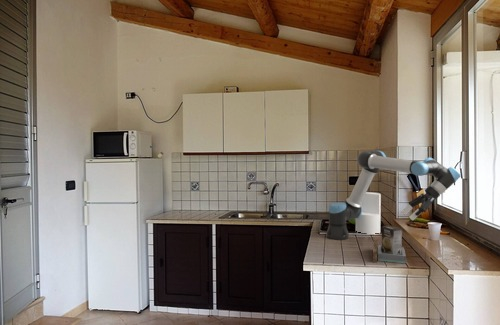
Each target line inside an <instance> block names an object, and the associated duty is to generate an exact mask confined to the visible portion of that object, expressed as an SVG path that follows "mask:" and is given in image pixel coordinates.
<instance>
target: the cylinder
mask: <svg viewBox="0 0 500 325" xmlns="http://www.w3.org/2000/svg"><path fill="white" fill-rule="evenodd" d="M381 198H382V196H381V193H379V192H370V191H366V194H365V196H364V198H363V200H362V202H361V204H362V214H361V215H360V216H359V217H358V218H356V224H355V232H356V231H357V232H356V233H358V232H361V233H367V234H366V235H369V234H374V235H376V234H375V233H379V234H381V220H382V219H381V218H382V216H381V213H382V212H381V204H382V203H381V201H382V199H381ZM361 233H360V234H361Z"/></svg>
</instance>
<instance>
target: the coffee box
mask: <svg viewBox="0 0 500 325" xmlns="http://www.w3.org/2000/svg"><path fill="white" fill-rule="evenodd" d="M402 237H403V229H402V228H400V227H396V226H393V225H382V226H381V246H382V253H386V254H397V255H401V247H403V245H402V241H403V238H402Z"/></svg>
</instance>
